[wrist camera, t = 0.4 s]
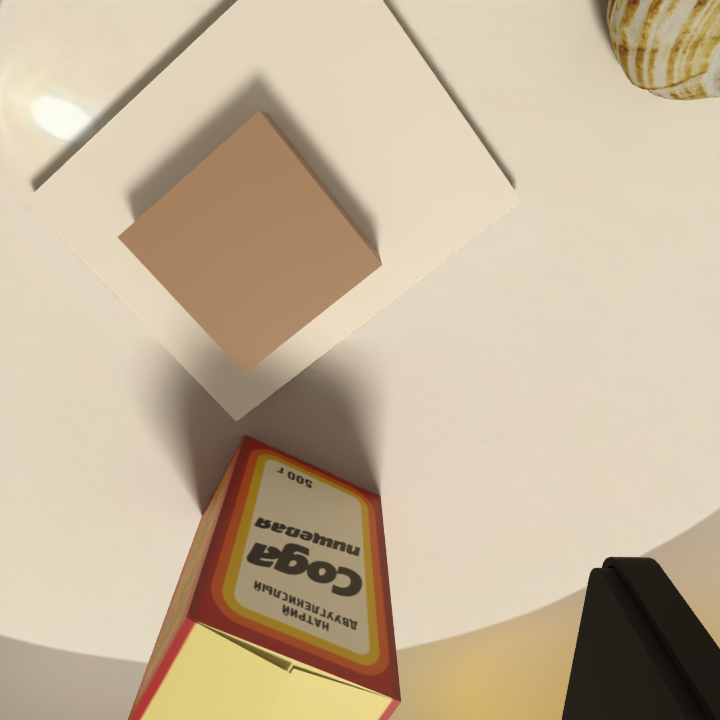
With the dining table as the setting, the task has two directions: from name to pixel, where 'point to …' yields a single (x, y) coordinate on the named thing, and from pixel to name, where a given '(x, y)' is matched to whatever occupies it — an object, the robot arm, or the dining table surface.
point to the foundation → (275, 190)
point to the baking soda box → (278, 603)
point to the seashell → (668, 45)
